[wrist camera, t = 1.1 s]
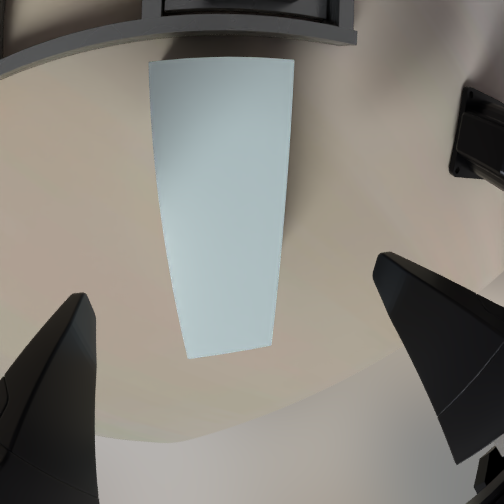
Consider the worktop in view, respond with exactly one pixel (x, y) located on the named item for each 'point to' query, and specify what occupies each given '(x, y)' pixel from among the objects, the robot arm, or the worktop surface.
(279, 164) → the panel
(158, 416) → the worktop surface
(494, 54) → the worktop surface
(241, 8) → the rack
